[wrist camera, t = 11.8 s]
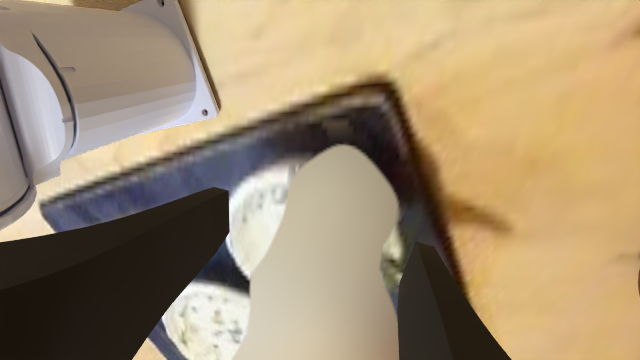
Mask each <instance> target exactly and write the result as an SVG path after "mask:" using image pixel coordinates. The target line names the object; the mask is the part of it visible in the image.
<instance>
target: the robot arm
mask: <svg viewBox="0 0 640 360" xmlns="http://www.w3.org/2000/svg"><path fill="white" fill-rule="evenodd" d="M205 109H206V110H207V112H208V115H207V114H206V113H205ZM218 115H219V108H218V106H217V103H216V100H215V98H214V95H213V92H212V90H211V87H210V84H209V82H208V79H207V76H206V74H205V71H204V69H203V66H202V63H201V61H200V58H199V55H198V53H197V50H196V47H195V45H194V42H193V40H192V37H191V34H190V32H189V29H188V26H187V24H186V21H185V18H184V16H183V13H182V10H181V8H180V5H179V3H178V0H164V6H163V5H162V0H141V1H139V2H137V3H135V4H132V5H130V6H128V7H126V8H123V9H121V10H119V11H115V10H106V9H97V8H87V7H78V6H69V5H60V4H51V3H41V2H32V1H23V0H0V230H2V229H4V228H6V227H7V226H9V225H11V224H12V223H14V222H15V221H16V220H18V219H19V218H20V217H22V216H23V215H24V214H25V213H26V212H27V211H28V210H29V209H30V207H31V206H32V204H33V203H34V201H35V197H36V186H35V185H37V184H40V183H42V182H45V181H47V180H50V179H52V178H55V177H57V176H60V163H61V161H63V160H66V159H69V158H71V157H74V156H77V155H80V154H83V153H86V152H88V151H91V150H94V149H97V148H100V147H103V146H105V145H108V144H111V143H114V142H117V141H120V140H122V139H125V138H128V137H131V136H135V135H139V134H144V133H148V132H153V131H157V130H162V129H166V128H171V127H175V126H179V125H184V124H188V123H193V122H197V121H202V120H206V119H211V118H214V117H217V116H218ZM228 234H229V191H227V190H224V189H220V188H216V187H213V188H209V189H206V190H203V191H200V192H197V193H194V194H191V195H188V196H186V197H183V198H180V199H177V200H174V201H172V202H169V203H166V204H163V205H160V206H157V207H154V208H151V209H148V210H145V211H142V212H139V213H136V214H132V215H129V216H126V217H123V218H119V219H116V220H112V221H108V222H104V223H100V224H96V225H92V226H88V227H84V228H79V229H74V230H69V231H64V232H59V233H54V234H49V235H44V236H38V237H32V238H26V239H20V240H13V241H6V242H0V360H132V359H133V357H134V356H135V355H136V353H137V352H138V350H139V349H140V347H141V346H142V344H143V343H144V341H145V340H146V338H147V337H148V336H149V334H150V333H151V331H152V330H153V329H154V327H155V326H156V324H157V323H158V322H159V320H160V319H161V317H162V316H163V315H164V313H165V312H166V311H167V309H168V308H169V307H170V306H171V304H172V303H173V302H174V301H175V299H176V298H177V297H178V296H179V295H180V294H181V293H182V291H183V290H184V289H185V288H186V287H187V286H188V285H189V283H190V282H191V281H192V280H193V279H194V278H195V277H196V275H197V274H198V273H199V272H200V271H201V270H202V269H203V267H204V266H205V265H206V264H207V263H208V262H209V260H210V259H211V258H212V257H213V256H214V254H215V253H216V252H217V250H218V249H219V247H220V246H221V245H222V243H223V241H224V240H225V238H226V237H227V235H228ZM398 337H399V360H511V358H510V357H509V356H508V355H507V353H506V352H505V351H504V350H503V349H502V347H501V346H500V345H499V344H498V342H497V341H496V340H495V338H494V337H493V336H492V335H491V333H490V332H489V331H488V329H487V328H486V326H485V325H484V324H483V322H482V321H481V319H480V318H479V317H478V315H477V314H476V313H475V311H474V310H473V308H472V307H471V305H470V304H469V302H468V301H467V299H466V298H465V296H464V295H463V293H462V292H461V290H460V289H459V287H458V285H457V284H456V282H455V281H454V279H453V277H452V276H451V274H450V272H449V271H448V269H447V267H446V266H445V264H444V262H443V261H442V259H441V257H440V256H439V254H438V252H437V251H436V249H435V247H434V246H430V245H426V244H423V243H419V242H416V243H415V246H414V248H413V251H412V253H411V256H410V258H409V261H408V263H407V266H406V268H405V271H404V273H403V276H402V278H401V280H400V285H399V296H398Z"/></svg>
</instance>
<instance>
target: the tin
mask: <svg viewBox="0 0 640 360" xmlns="http://www.w3.org/2000/svg"><path fill="white" fill-rule="evenodd" d="M638 288H639V295H640V270H639V278H638Z"/></svg>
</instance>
